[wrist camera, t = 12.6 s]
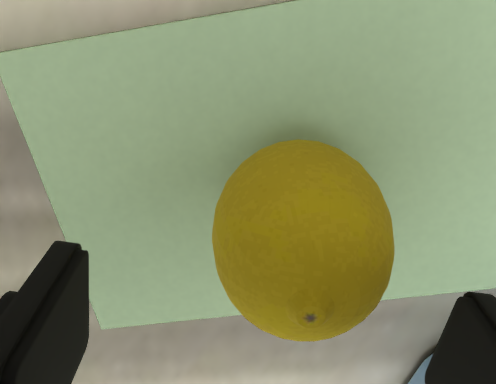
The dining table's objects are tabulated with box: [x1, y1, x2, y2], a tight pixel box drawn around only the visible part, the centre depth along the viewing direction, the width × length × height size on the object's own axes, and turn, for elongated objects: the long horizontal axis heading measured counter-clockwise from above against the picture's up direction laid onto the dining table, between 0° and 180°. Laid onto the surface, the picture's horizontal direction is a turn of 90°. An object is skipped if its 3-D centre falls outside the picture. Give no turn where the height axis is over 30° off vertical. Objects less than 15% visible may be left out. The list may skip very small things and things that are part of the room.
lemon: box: [212, 139, 395, 341], centre depth 14 cm, size 6×6×8 cm
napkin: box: [0, 0, 496, 329], centre depth 18 cm, size 20×13×1 cm, turn 99°
